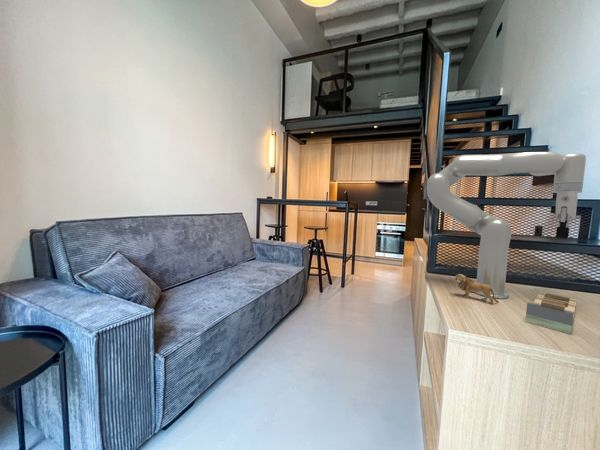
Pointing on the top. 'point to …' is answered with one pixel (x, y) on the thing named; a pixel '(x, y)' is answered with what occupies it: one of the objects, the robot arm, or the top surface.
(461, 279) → the lion figurine
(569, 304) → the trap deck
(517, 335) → the top surface
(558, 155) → the robot arm
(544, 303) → the walnut block
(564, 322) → the end stop
